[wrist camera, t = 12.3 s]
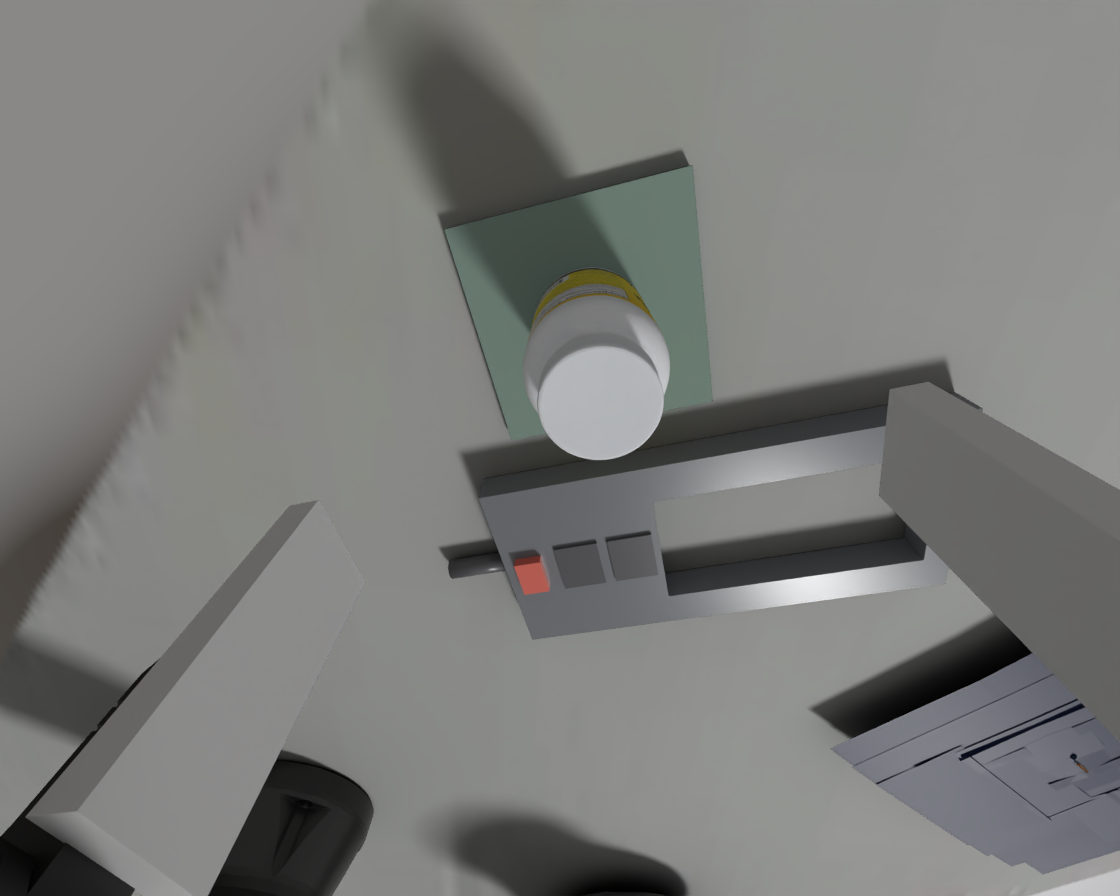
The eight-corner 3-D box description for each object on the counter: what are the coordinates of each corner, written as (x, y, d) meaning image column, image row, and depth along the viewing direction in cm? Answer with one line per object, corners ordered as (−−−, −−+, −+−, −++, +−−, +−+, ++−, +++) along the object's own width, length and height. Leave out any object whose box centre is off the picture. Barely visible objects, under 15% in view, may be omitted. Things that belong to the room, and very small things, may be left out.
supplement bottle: (644, 373, 25) (679, 479, 16) (538, 376, 25) (519, 482, 17) (649, 261, 22) (694, 317, 14) (530, 266, 22) (503, 325, 14)
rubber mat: (512, 435, 28) (511, 440, 27) (447, 228, 22) (444, 229, 22) (710, 396, 26) (712, 401, 26) (689, 165, 21) (692, 165, 20)
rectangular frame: (481, 623, 35) (474, 654, 33) (421, 490, 30) (408, 516, 27) (925, 560, 31) (952, 591, 29) (955, 392, 26) (991, 414, 23)
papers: (1001, 846, 49) (1030, 892, 46) (812, 716, 41) (831, 762, 38) (1300, 743, 39) (1363, 793, 36) (1130, 548, 31) (1192, 589, 28)
